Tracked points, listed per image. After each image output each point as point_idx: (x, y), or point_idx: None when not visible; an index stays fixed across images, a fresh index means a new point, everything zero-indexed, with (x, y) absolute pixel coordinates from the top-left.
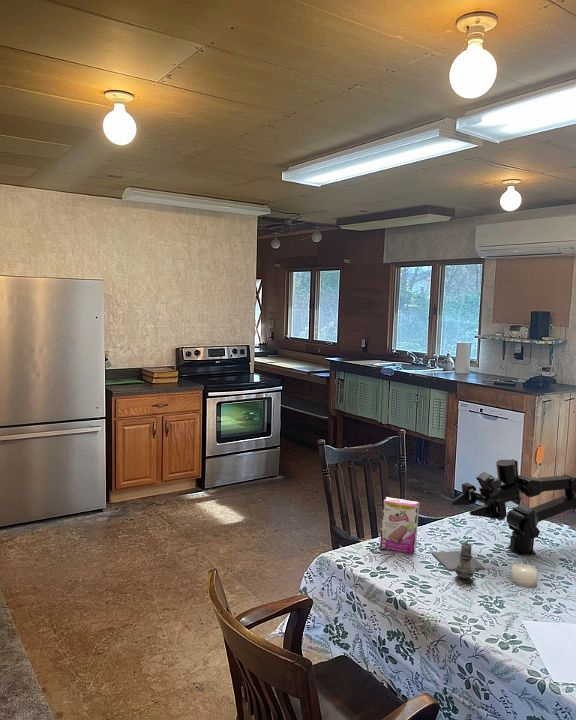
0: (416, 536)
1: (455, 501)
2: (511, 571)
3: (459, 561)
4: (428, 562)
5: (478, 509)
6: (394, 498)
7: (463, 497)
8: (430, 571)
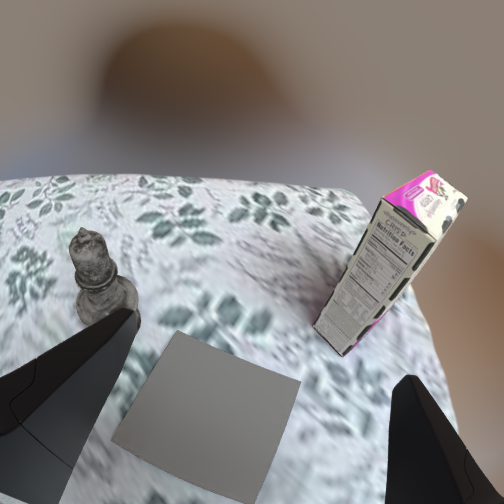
0: (358, 329)
1: (409, 403)
2: None
3: (195, 409)
4: (253, 329)
5: (59, 345)
6: (457, 201)
7: (436, 498)
8: (206, 291)
